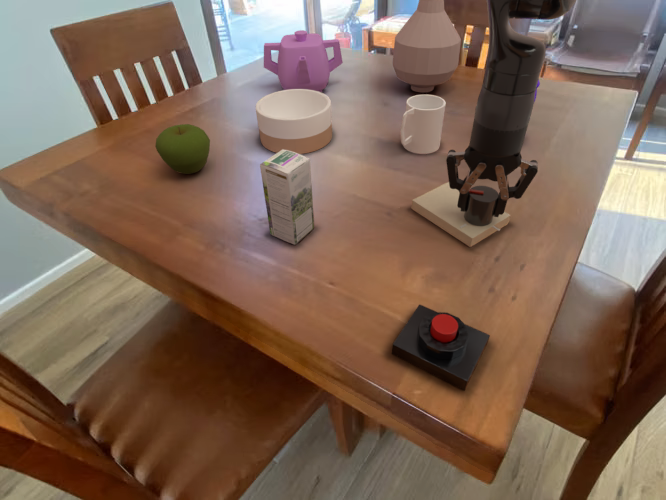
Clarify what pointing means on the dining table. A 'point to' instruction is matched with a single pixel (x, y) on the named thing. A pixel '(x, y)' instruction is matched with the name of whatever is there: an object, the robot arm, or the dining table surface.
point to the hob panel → (454, 215)
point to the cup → (422, 123)
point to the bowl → (294, 120)
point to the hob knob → (481, 205)
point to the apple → (184, 148)
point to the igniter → (440, 348)
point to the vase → (426, 47)
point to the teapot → (303, 60)
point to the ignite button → (444, 328)
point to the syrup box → (288, 195)
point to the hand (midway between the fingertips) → (479, 211)
